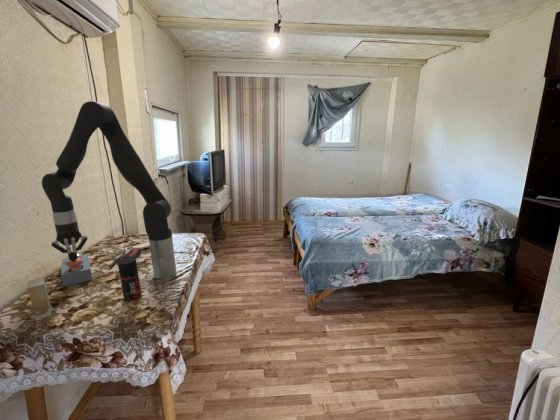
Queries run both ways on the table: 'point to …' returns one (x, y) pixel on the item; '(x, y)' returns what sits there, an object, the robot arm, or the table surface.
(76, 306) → the table surface
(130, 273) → the deodorant
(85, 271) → the press block
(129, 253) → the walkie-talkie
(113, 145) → the robot arm
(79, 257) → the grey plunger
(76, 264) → the red plunger
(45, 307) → the skincare box
